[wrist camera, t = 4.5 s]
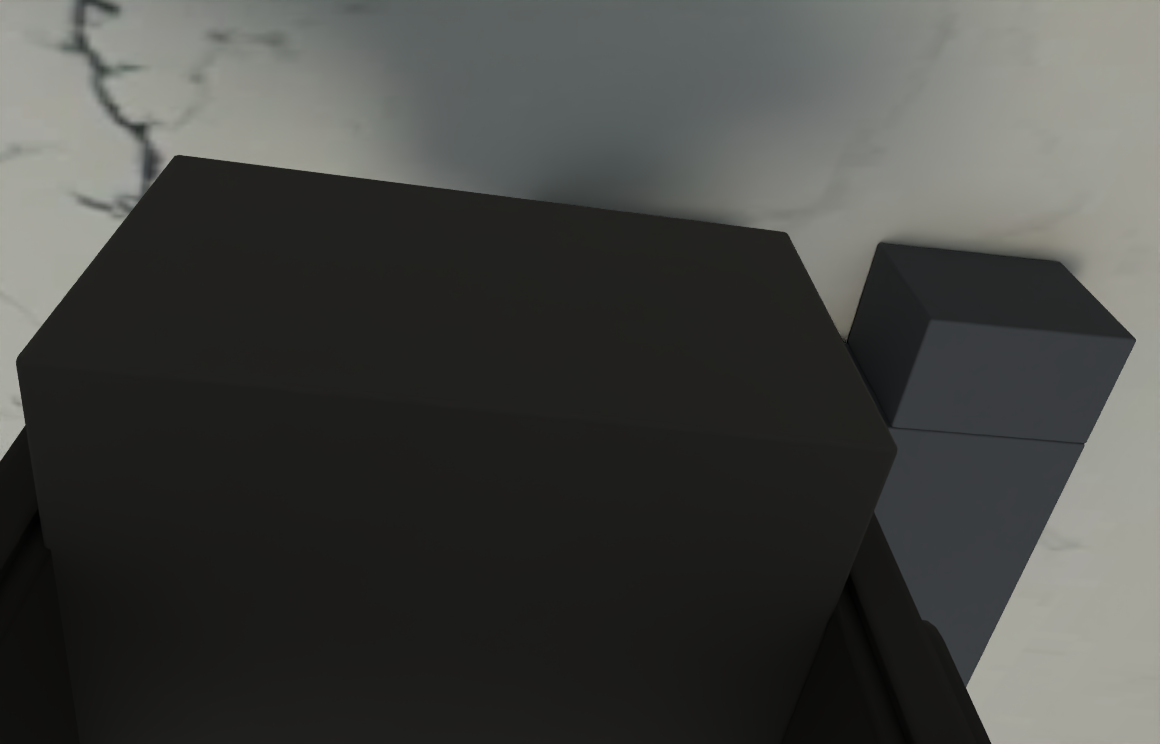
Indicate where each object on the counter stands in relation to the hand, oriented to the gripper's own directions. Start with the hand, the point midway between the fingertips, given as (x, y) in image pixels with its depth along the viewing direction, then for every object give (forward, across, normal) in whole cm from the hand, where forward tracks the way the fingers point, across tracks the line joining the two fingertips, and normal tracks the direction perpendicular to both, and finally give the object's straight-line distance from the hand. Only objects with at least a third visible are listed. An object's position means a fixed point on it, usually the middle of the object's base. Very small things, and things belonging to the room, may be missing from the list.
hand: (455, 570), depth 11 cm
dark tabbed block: (+2, 0, +1) cm, 3 cm away
